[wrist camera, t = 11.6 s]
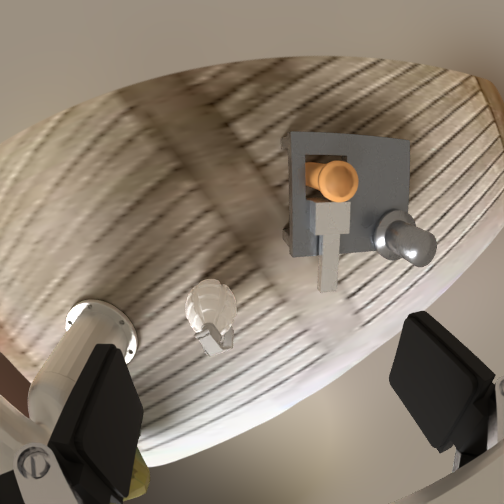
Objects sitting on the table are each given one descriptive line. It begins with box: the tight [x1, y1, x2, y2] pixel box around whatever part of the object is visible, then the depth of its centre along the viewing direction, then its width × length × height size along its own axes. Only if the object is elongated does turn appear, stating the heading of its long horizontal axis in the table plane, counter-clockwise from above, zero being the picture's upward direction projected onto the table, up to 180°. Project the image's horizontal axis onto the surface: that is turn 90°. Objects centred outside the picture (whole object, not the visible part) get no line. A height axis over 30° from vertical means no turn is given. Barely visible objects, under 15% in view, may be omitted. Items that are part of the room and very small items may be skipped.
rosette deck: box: [281, 132, 437, 293], centre depth 32 cm, size 18×17×13 cm
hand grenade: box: [185, 279, 237, 356], centre depth 35 cm, size 8×6×13 cm
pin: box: [305, 161, 359, 202], centre depth 32 cm, size 4×4×10 cm
